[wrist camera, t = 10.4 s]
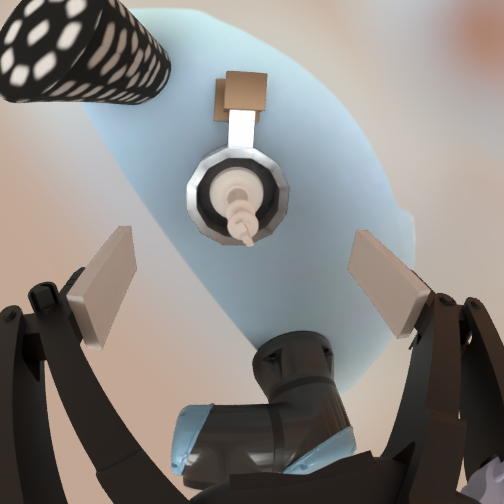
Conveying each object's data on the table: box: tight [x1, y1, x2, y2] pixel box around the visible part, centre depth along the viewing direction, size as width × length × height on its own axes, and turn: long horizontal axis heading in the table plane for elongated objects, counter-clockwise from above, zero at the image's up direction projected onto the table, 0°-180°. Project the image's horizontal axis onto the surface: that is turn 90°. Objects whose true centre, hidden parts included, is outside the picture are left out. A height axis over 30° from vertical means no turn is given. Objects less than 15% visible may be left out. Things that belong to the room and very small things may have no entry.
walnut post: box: [214, 71, 267, 122], centre depth 22 cm, size 5×5×12 cm
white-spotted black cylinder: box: [0, 0, 171, 105], centre depth 15 cm, size 8×8×20 cm
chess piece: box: [210, 167, 263, 248], centre depth 20 cm, size 5×5×10 cm
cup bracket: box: [187, 110, 290, 245], centre depth 23 cm, size 14×9×3 cm, turn 176°
